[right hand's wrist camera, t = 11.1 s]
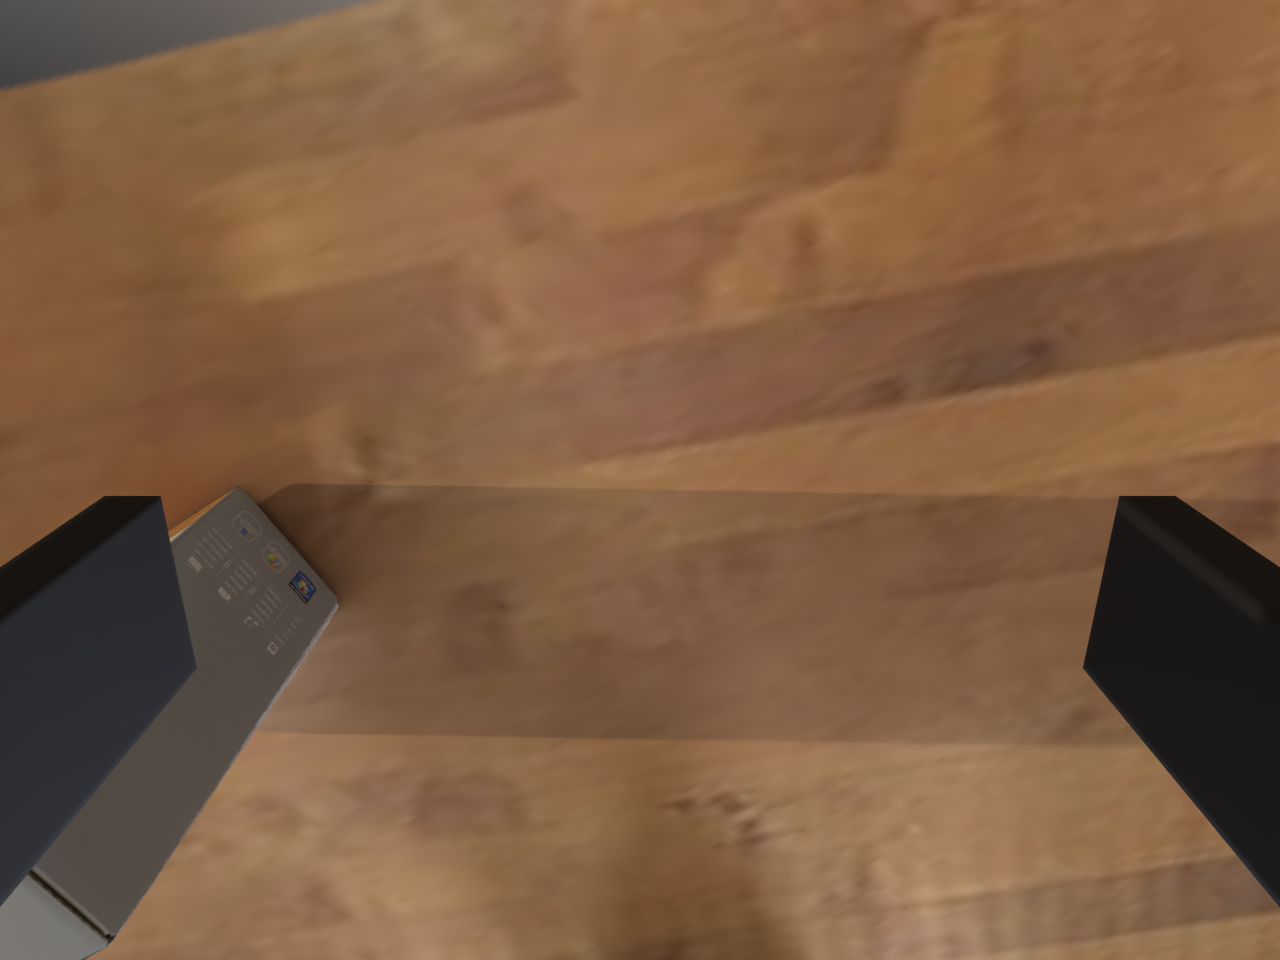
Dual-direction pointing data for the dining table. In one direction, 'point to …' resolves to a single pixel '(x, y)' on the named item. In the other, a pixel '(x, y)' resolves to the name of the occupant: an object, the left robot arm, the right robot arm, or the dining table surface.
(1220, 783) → the right robot arm
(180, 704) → the hard drive box
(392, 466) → the dining table surface
